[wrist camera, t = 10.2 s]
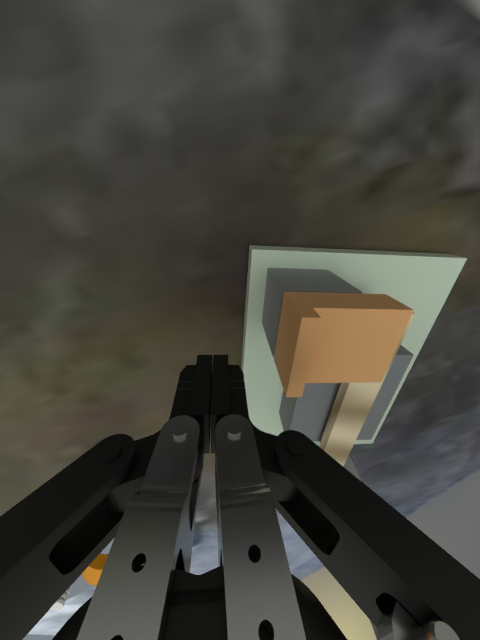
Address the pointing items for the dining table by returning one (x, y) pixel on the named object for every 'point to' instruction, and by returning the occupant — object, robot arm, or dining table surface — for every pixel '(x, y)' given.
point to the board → (363, 275)
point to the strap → (351, 414)
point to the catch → (337, 338)
